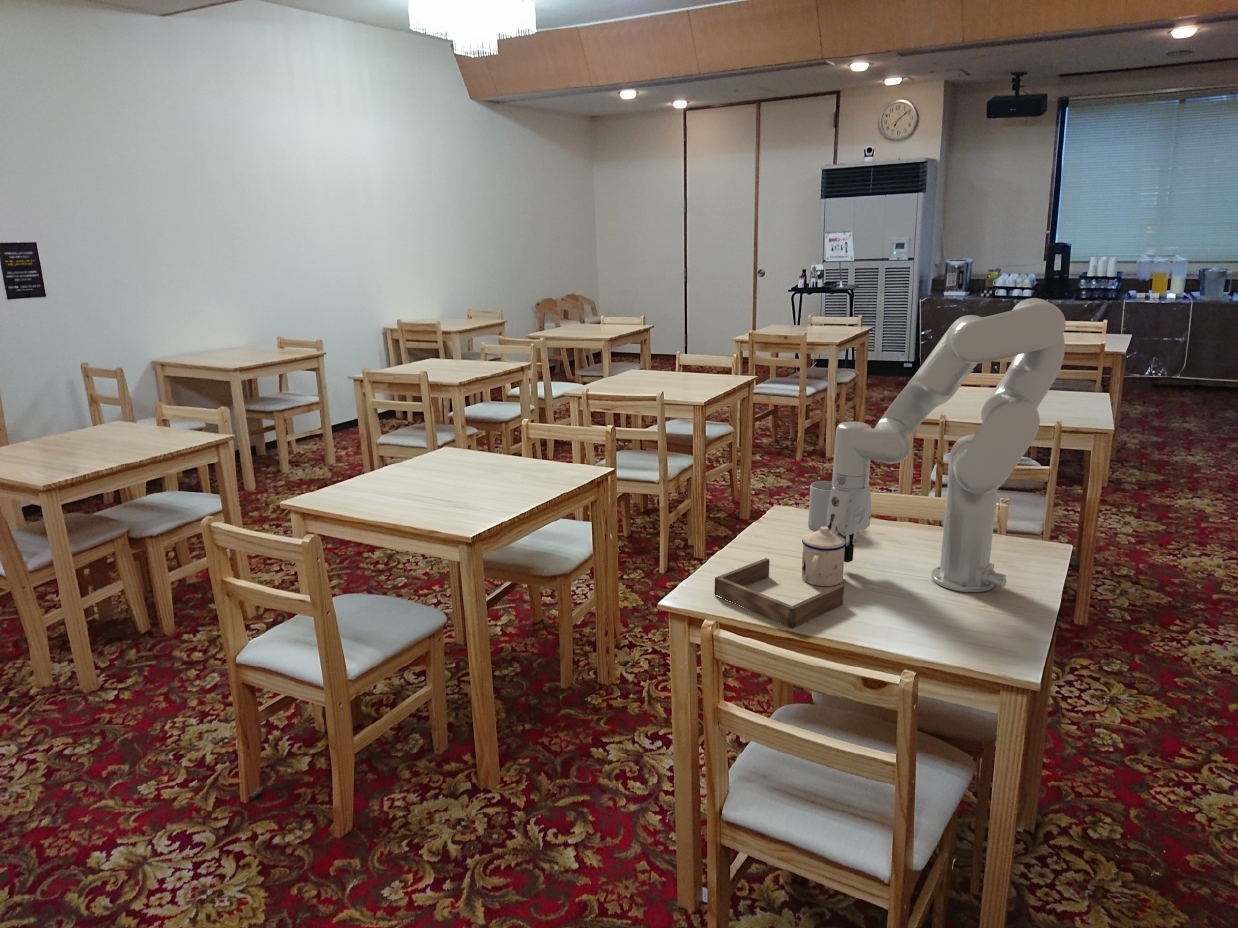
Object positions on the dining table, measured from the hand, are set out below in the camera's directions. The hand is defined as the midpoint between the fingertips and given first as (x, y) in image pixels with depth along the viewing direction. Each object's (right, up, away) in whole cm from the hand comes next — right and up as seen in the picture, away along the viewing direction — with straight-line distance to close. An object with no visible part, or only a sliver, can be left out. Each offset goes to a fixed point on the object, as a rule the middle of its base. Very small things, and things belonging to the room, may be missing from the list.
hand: (844, 559), depth 186 cm
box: (-17, -7, -14) cm, 23 cm away
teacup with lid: (-7, -4, -5) cm, 9 cm away
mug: (+4, +5, +29) cm, 29 cm away
